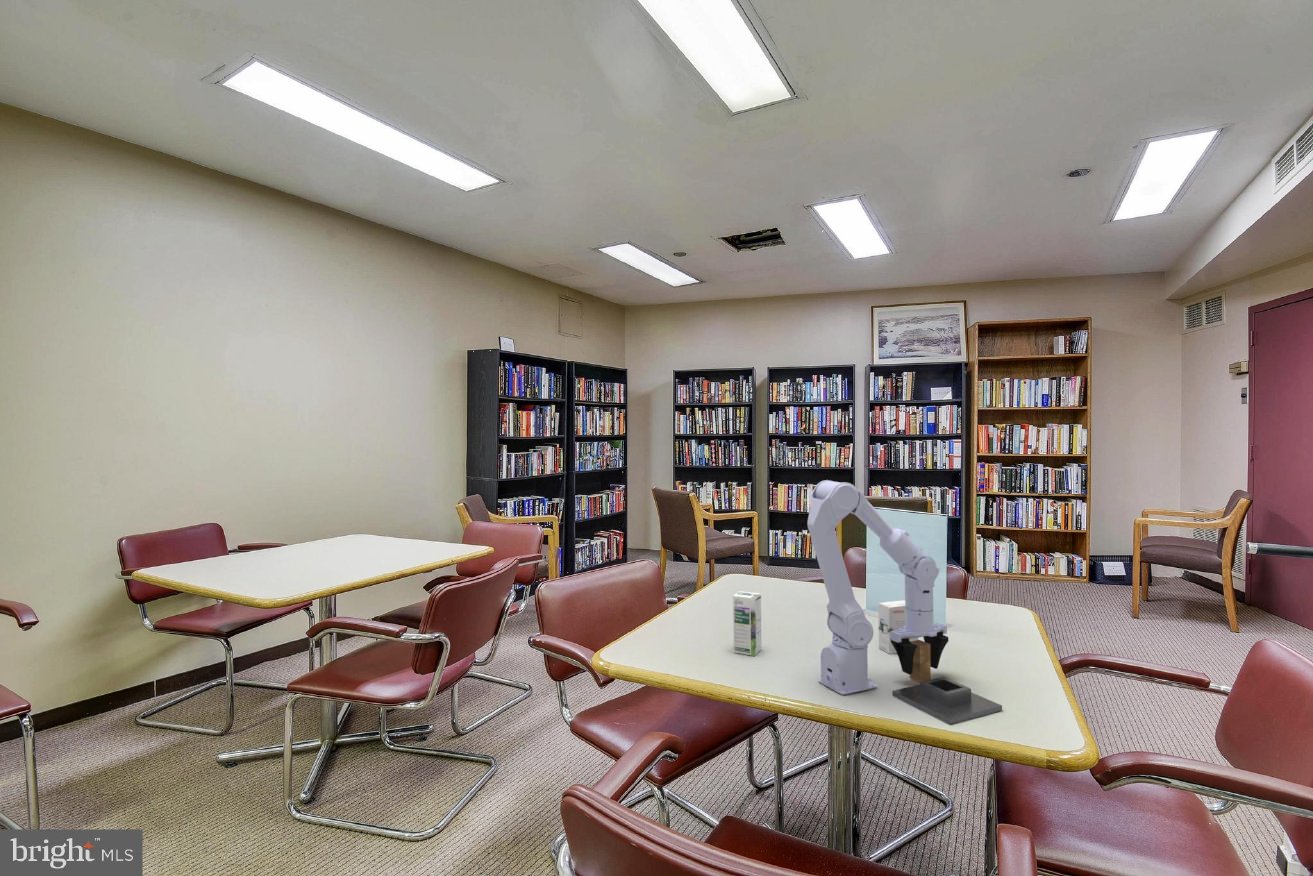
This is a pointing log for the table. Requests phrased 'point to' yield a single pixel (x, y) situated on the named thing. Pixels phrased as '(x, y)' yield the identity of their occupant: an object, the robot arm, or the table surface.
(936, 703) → the socket plate
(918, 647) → the oak peg
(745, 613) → the syrup box
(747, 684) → the table surface
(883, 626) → the ink box
